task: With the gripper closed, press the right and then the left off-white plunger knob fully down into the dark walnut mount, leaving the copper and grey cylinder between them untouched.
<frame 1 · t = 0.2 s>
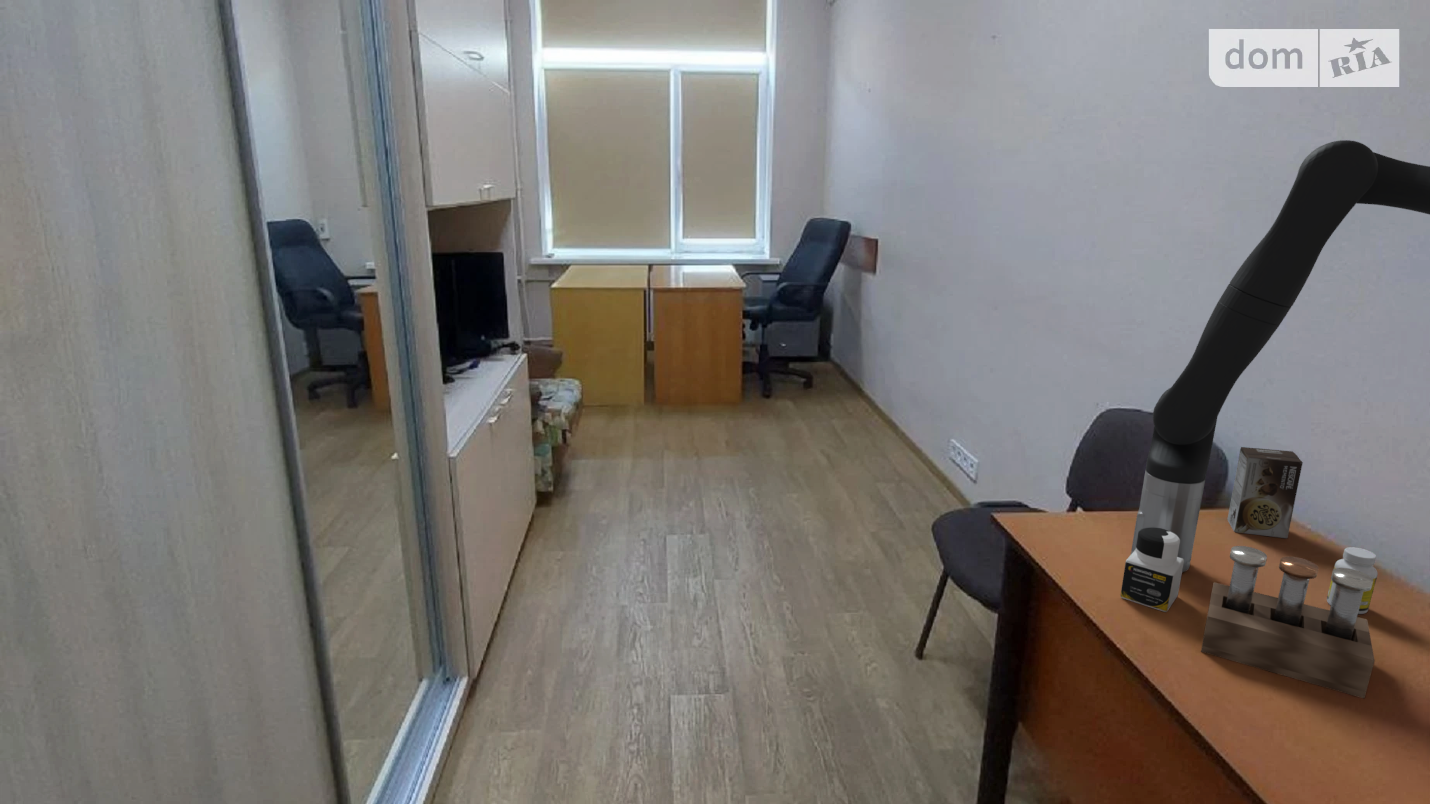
coffee box: (1255, 530, 154), on the table
copper and grey cylinder: (1292, 595, 112), point 10 cm above the table, slide at 0.0 cm
knob right: (1344, 607, 108), point 10 cm above the table, slide at 0.0 cm
knob left: (1242, 583, 115), point 10 cm above the table, slide at 0.0 cm
mount: (1279, 653, 115), on the table
medicine bottle: (1148, 598, 130), on the table
supplement bottle: (1346, 607, 127), on the table
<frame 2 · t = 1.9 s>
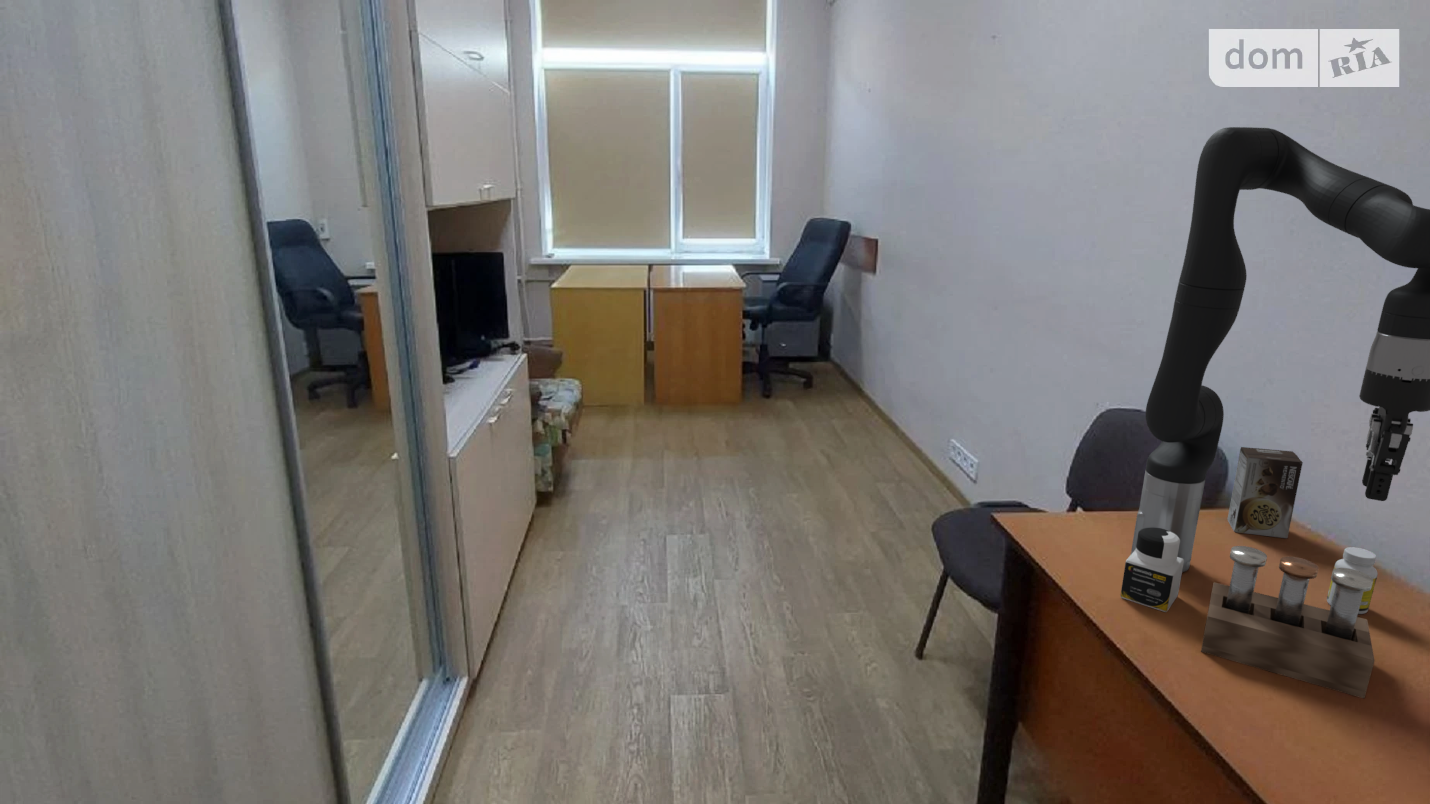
hand: (1373, 492, 103), 27 cm above the table, fingers open, 4 cm apart
nothing on the table moved.
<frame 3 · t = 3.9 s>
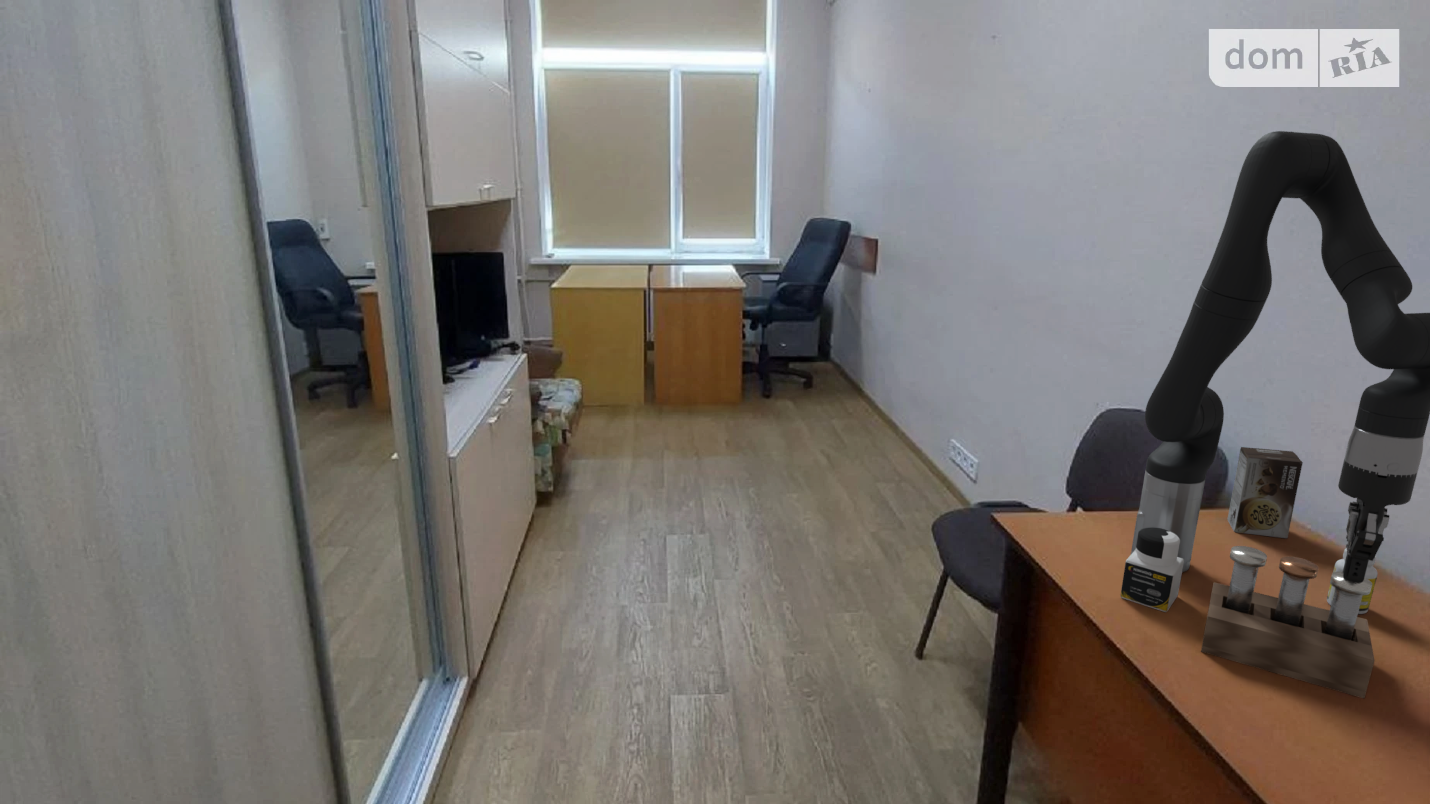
hand: (1352, 579, 107), 14 cm above the table, fingers closed
knob right: (1343, 611, 109), point 9 cm above the table, slide at 0.6 cm, touching gripper
everything else where it was.
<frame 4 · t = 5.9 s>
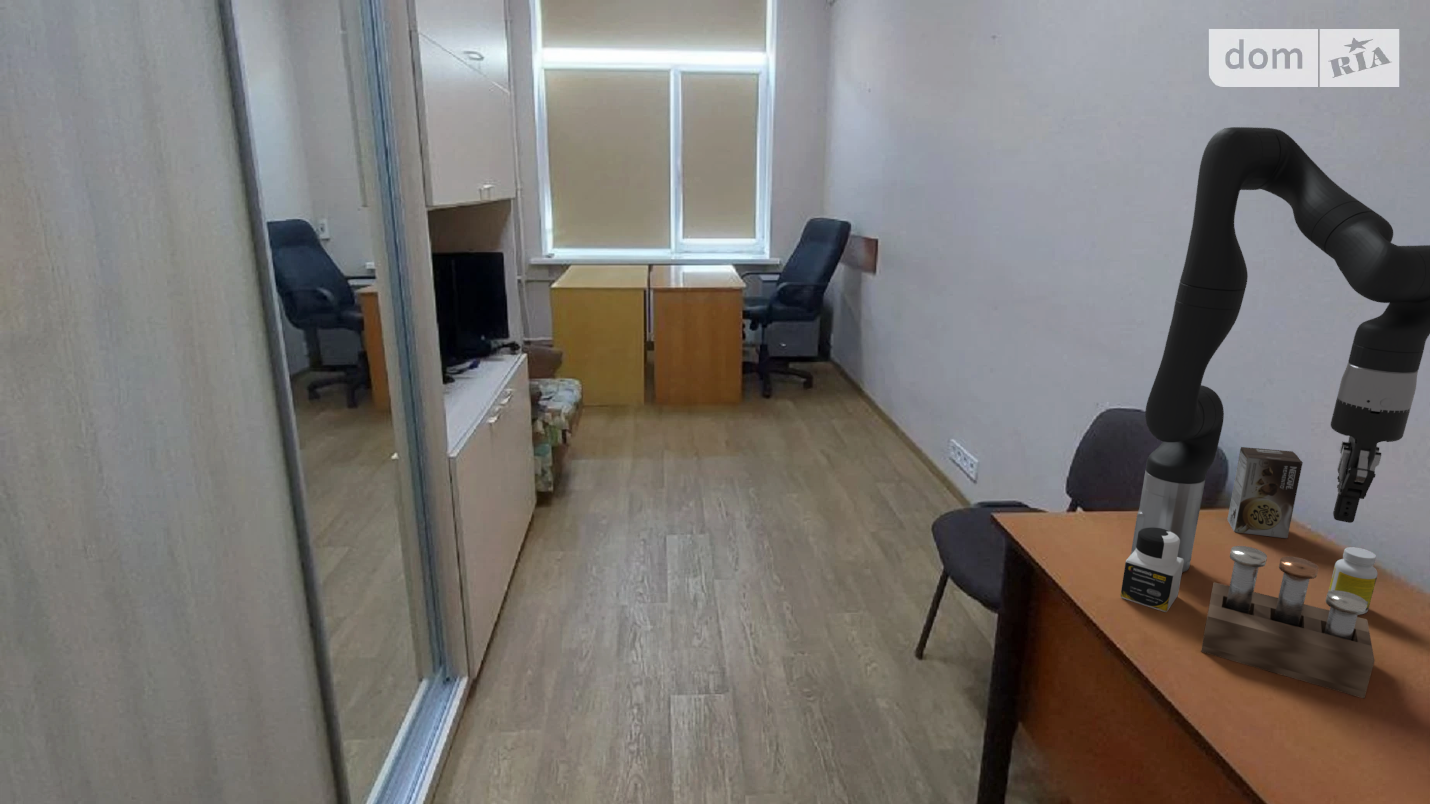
hand: (1342, 519, 106), 23 cm above the table, fingers closed
knob right: (1339, 630, 109), point 6 cm above the table, slide at 3.6 cm
everything else where it was.
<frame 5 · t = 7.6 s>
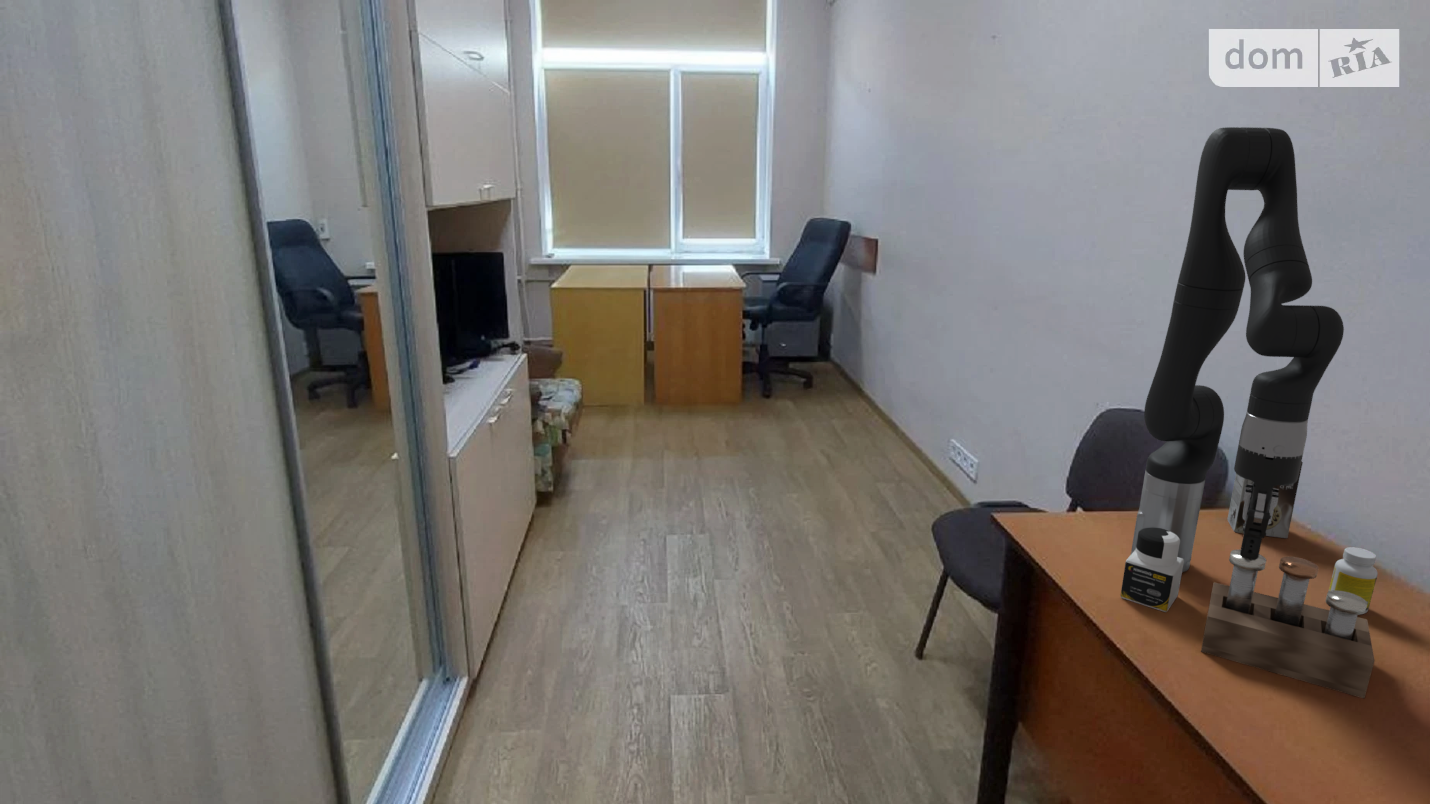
hand: (1248, 556, 114), 14 cm above the table, fingers closed
knob left: (1241, 587, 115), point 9 cm above the table, slide at 0.6 cm, touching gripper
everything else where it was.
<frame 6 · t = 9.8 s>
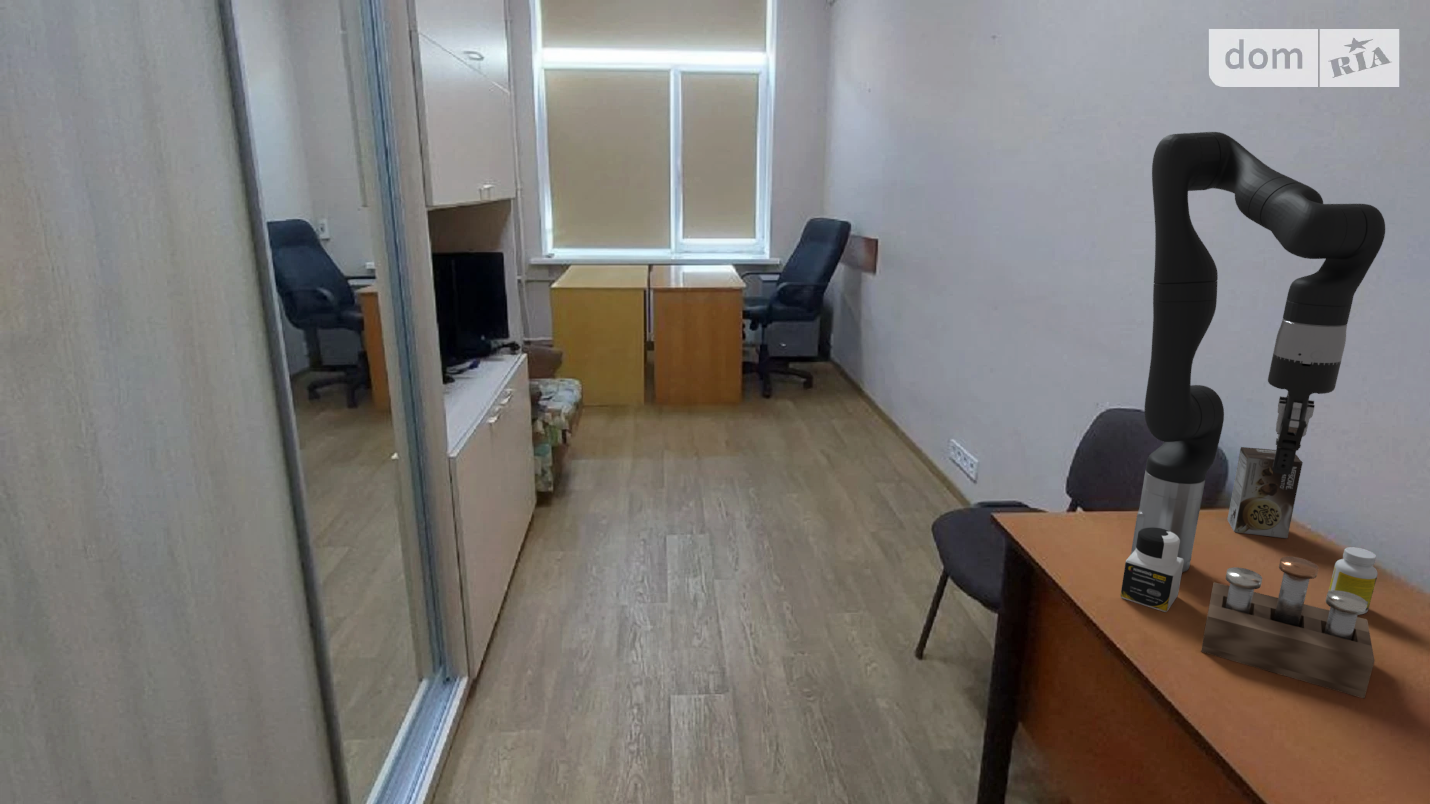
hand: (1281, 472, 110), 27 cm above the table, fingers closed
knob left: (1238, 604, 116), point 6 cm above the table, slide at 3.6 cm, touching mount
everything else where it was.
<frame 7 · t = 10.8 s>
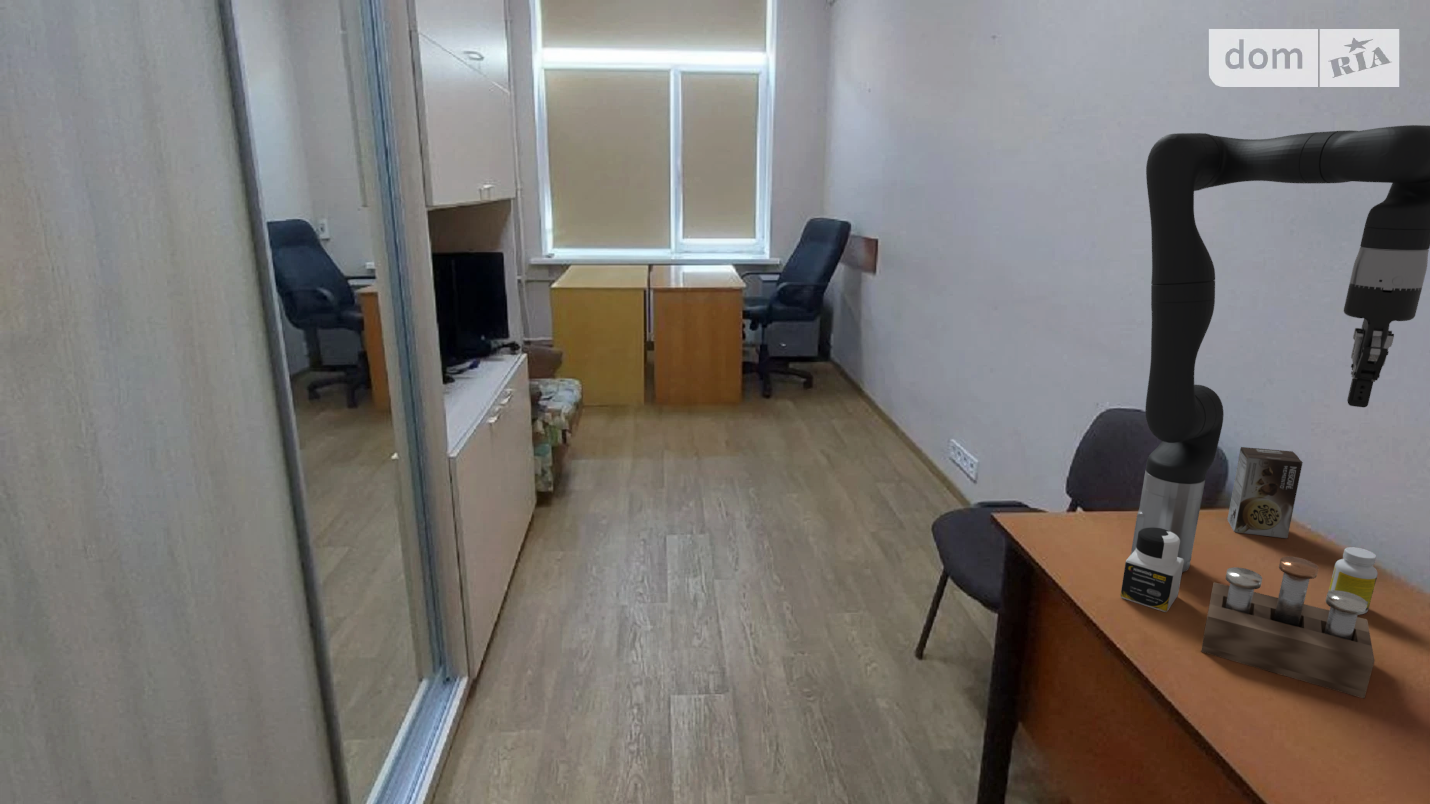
hand: (1356, 405, 109), 37 cm above the table, fingers closed
nothing on the table moved.
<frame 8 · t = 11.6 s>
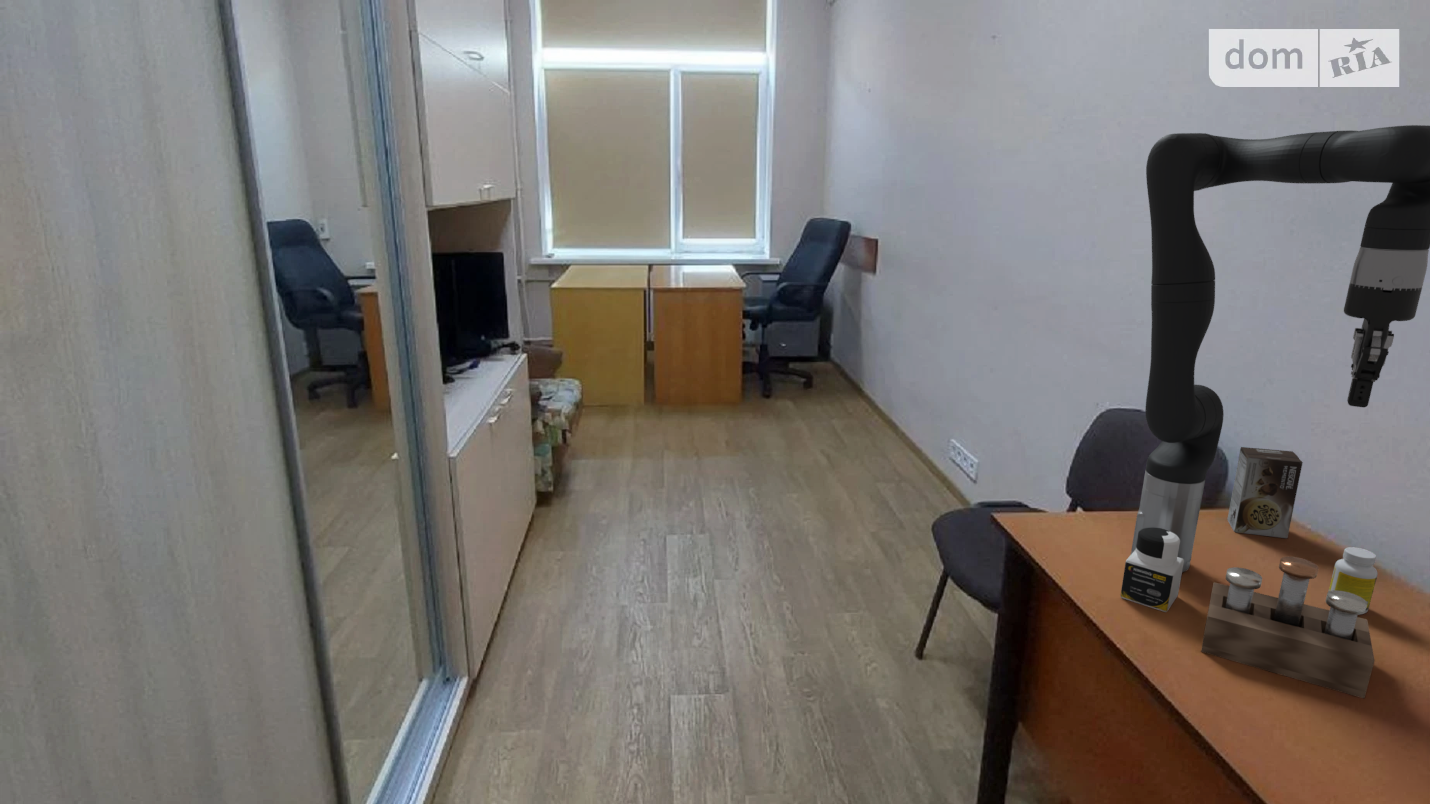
hand: (1356, 405, 109), 37 cm above the table, fingers closed
nothing on the table moved.
at the end: knob right slide at 3.6 cm; knob left slide at 3.6 cm; copper and grey cylinder slide at 0.0 cm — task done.
